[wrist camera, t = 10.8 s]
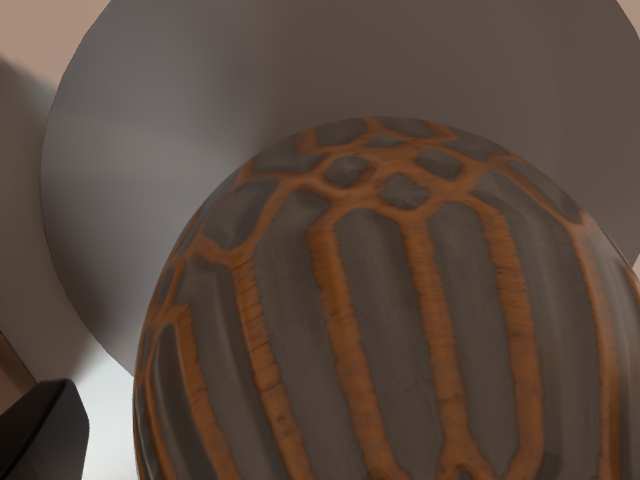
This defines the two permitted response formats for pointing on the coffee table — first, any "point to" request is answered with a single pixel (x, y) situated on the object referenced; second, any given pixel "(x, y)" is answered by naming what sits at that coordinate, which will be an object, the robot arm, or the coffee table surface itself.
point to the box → (12, 376)
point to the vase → (390, 320)
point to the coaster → (314, 114)
